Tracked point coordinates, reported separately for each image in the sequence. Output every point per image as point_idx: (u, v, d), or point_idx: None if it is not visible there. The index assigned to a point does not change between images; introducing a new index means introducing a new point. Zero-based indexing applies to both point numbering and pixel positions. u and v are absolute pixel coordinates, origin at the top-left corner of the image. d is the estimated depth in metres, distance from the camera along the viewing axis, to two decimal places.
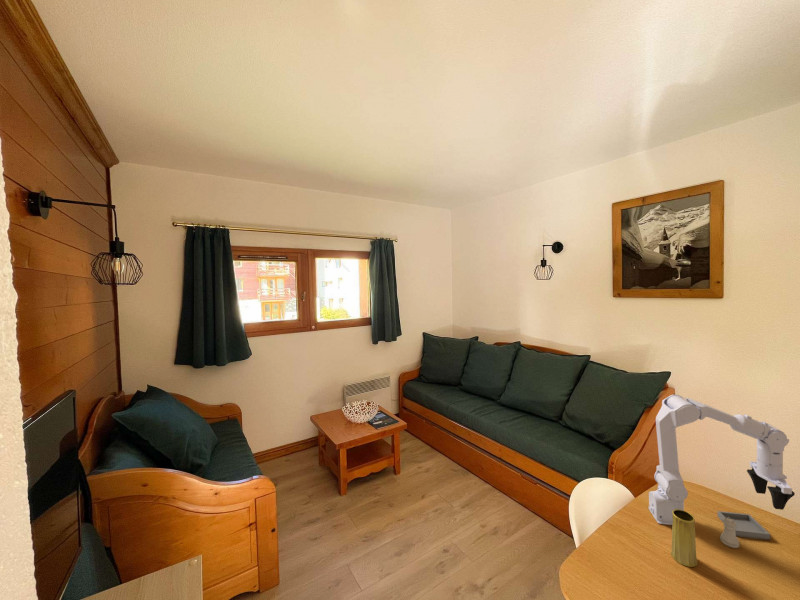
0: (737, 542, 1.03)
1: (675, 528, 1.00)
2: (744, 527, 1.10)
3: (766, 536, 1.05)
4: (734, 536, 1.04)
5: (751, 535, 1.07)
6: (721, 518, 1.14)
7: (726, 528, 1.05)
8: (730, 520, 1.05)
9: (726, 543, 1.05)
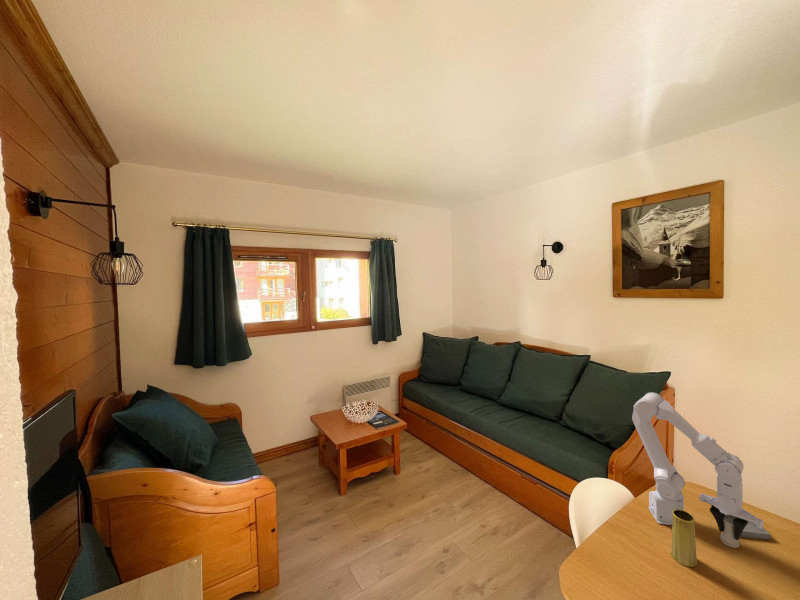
0: (737, 542, 1.03)
1: (675, 528, 1.00)
2: None
3: (766, 536, 1.05)
4: None
5: (751, 535, 1.07)
6: None
7: (726, 528, 1.05)
8: (730, 520, 1.05)
9: (726, 543, 1.05)
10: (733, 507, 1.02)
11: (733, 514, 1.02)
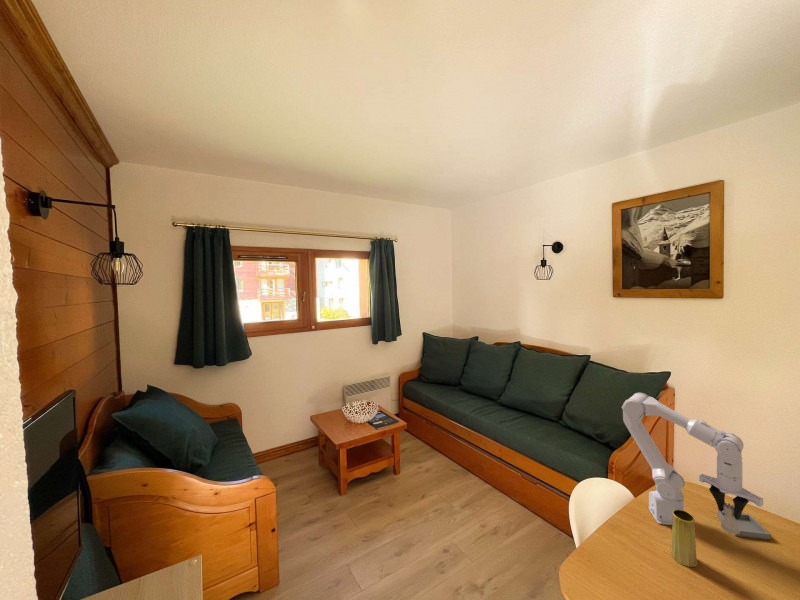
0: (737, 528, 1.03)
1: (675, 528, 1.00)
2: (744, 527, 1.10)
3: (766, 536, 1.05)
4: (734, 522, 1.03)
5: (751, 535, 1.07)
6: (721, 518, 1.14)
7: (726, 514, 1.05)
8: (730, 506, 1.04)
9: (726, 529, 1.04)
10: (733, 486, 1.01)
11: (733, 493, 1.01)
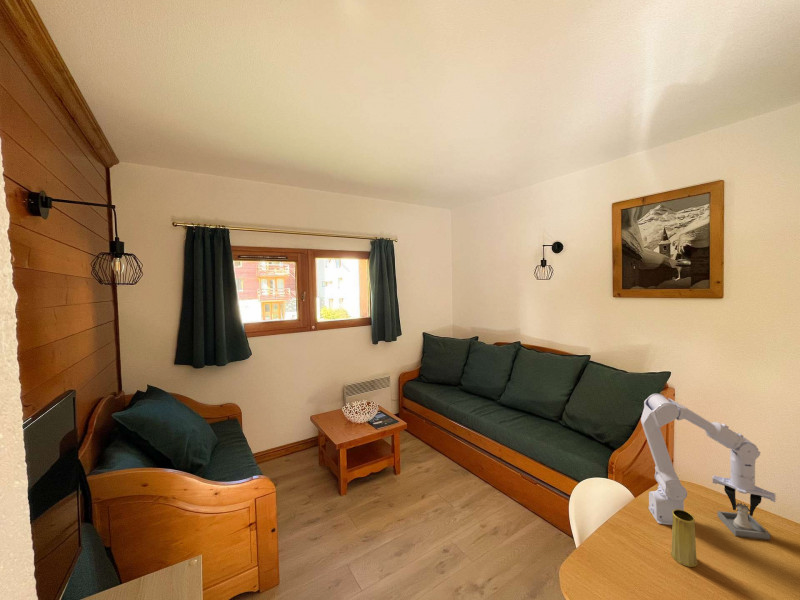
0: (750, 526, 1.08)
1: (675, 528, 1.00)
2: None
3: (766, 536, 1.05)
4: (748, 521, 1.09)
5: (751, 535, 1.07)
6: (721, 518, 1.14)
7: (740, 514, 1.09)
8: (743, 506, 1.10)
9: (740, 528, 1.09)
10: (749, 485, 1.07)
11: (750, 492, 1.07)
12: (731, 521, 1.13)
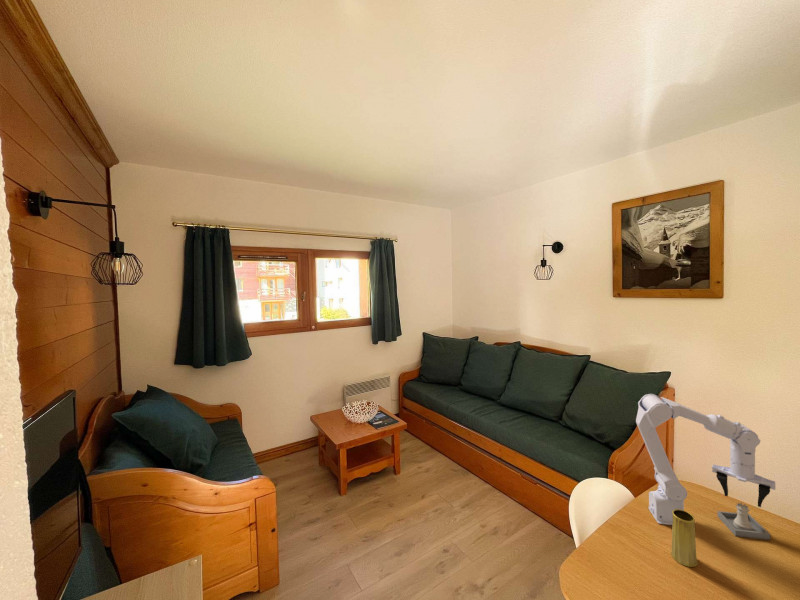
0: (750, 526, 1.08)
1: (675, 528, 1.00)
2: None
3: (766, 536, 1.05)
4: (748, 521, 1.09)
5: (751, 535, 1.07)
6: (721, 518, 1.14)
7: (740, 514, 1.09)
8: (743, 506, 1.10)
9: (740, 528, 1.09)
10: (749, 473, 1.07)
11: (750, 480, 1.06)
12: (731, 521, 1.13)
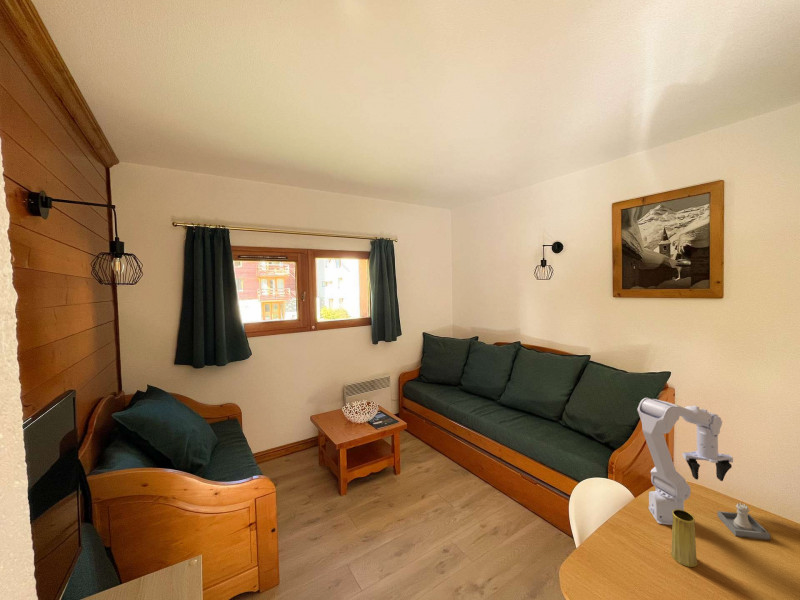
0: (750, 526, 1.08)
1: (675, 528, 1.00)
2: None
3: (766, 536, 1.05)
4: (748, 521, 1.09)
5: (751, 535, 1.07)
6: (721, 518, 1.14)
7: (740, 514, 1.09)
8: (743, 506, 1.10)
9: (740, 528, 1.09)
10: (717, 453, 1.18)
11: (717, 459, 1.18)
12: (731, 521, 1.13)
